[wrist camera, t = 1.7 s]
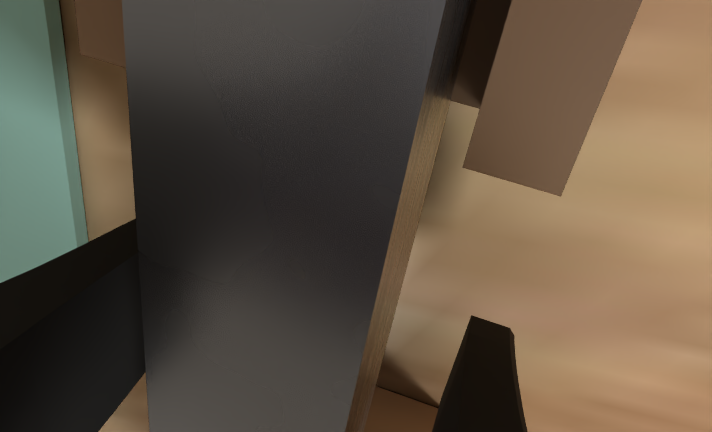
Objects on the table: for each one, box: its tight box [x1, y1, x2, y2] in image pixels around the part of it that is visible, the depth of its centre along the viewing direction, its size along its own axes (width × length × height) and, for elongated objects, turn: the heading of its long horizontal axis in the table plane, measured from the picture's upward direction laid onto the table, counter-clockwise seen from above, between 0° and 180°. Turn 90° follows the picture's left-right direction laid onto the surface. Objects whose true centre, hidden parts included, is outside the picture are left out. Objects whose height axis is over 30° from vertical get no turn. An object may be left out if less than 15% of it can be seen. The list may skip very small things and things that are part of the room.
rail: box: [122, 0, 477, 432], centre depth 10 cm, size 16×3×3 cm, turn 171°
